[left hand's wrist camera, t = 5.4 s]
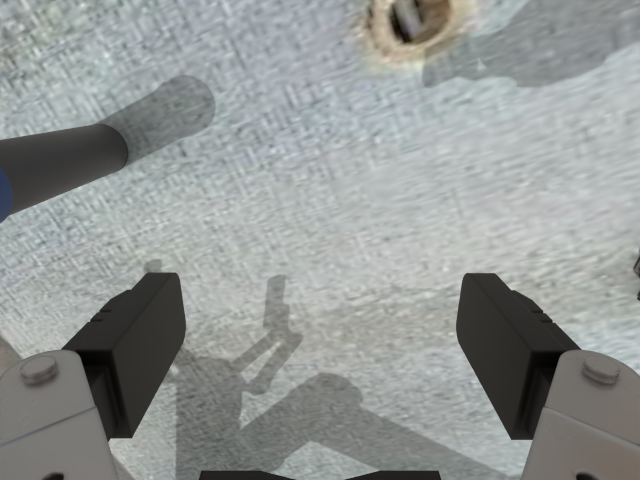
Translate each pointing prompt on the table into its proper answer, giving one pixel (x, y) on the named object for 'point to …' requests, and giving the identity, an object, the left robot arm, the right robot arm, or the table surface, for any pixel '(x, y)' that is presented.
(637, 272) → the gun
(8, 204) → the lid
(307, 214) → the table surface
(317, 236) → the table surface
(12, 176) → the dark grey bottle
